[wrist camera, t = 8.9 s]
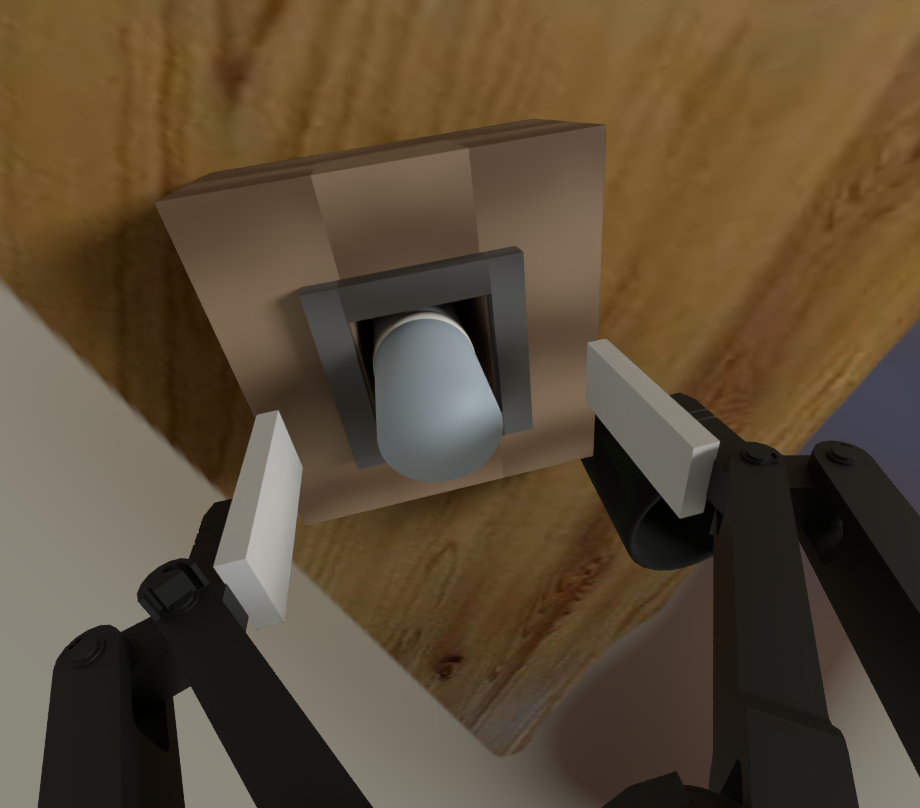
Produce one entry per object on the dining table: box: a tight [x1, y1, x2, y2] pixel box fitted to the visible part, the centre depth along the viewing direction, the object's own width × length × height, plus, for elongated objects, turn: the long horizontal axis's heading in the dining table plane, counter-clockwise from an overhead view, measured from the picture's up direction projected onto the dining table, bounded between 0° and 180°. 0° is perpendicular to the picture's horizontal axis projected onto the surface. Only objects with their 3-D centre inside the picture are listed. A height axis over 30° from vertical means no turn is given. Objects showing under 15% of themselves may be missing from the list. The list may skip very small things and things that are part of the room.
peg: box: [373, 302, 503, 482], centre depth 21 cm, size 4×4×12 cm
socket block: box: [154, 119, 606, 526], centre depth 24 cm, size 16×16×9 cm
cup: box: [581, 414, 716, 570], centre depth 29 cm, size 8×8×12 cm
